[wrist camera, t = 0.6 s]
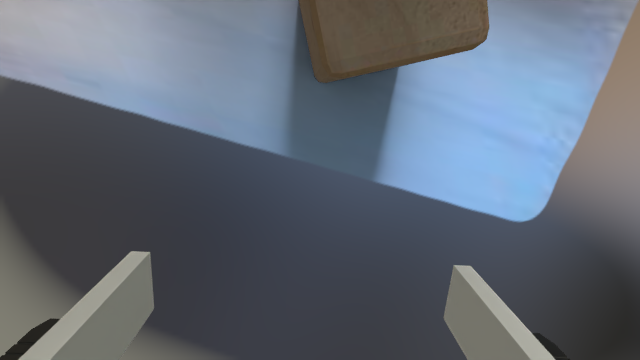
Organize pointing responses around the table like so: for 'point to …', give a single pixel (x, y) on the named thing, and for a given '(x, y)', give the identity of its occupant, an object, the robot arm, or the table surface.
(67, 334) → the robot arm
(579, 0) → the table surface
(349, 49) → the wooden block
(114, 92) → the table surface
